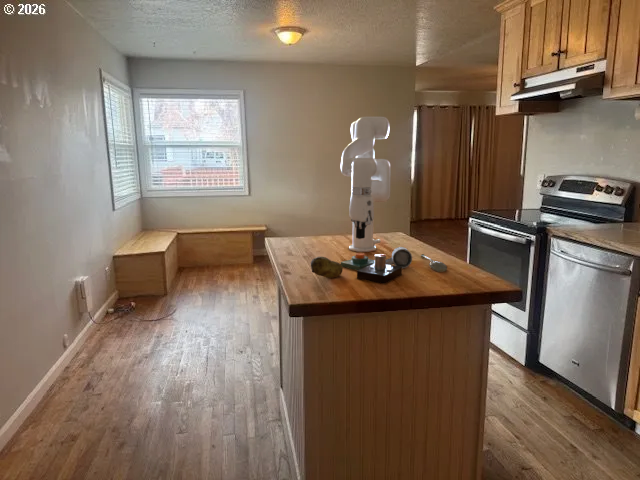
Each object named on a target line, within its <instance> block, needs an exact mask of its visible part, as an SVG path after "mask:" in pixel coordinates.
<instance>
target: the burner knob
mask: <svg viewBox="0 0 640 480" xmlns="http://www.w3.org/2000/svg"><path fill="white" fill-rule="evenodd" d="M374 260H375V264H374V269H376V270H385V269H386V260H387V255H386V254H383V253H377V254H374Z"/></svg>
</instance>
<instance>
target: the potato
mask: <svg viewBox="0 0 640 480" xmlns="http://www.w3.org/2000/svg"><path fill="white" fill-rule="evenodd" d="M310 268H311V273H313V274H315V275H316V276H318V277H319V276H320V277H324V278H327V279H334V278H337V277H339V276H340V275H342V273H343V270H344V267H342V265H341V262H340V263H339V262H337V261H334V260H331V259H329V258H328V257H325V256H316V257H314V258H312V259H311V262H310Z"/></svg>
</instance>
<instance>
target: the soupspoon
mask: <svg viewBox="0 0 640 480" xmlns="http://www.w3.org/2000/svg"><path fill="white" fill-rule="evenodd" d="M420 258H422V259H424V258H425V259H427V260H429V261H430V263H428V266H429V267H430V269H432V270H433V271H436V272H438V273H439V272H440V273H441V272H442V273H443V272H446V271H447V270H448V266H447V264H445V263H443V261H437V260H435V261H434V260H433V259H432V258H431V257H429V256H426V255H425V253H422V254H420Z"/></svg>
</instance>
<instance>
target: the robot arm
mask: <svg viewBox="0 0 640 480" xmlns="http://www.w3.org/2000/svg"><path fill="white" fill-rule="evenodd" d="M389 134H390V122H389V119H388V118H387V117H385V116H361V117H359V118H358V119H357V120H355V121H353V122H352V123H351V125H350V135H351V142H350V143H349V144H348V145H347V146H346V147H345V148H344V149H343V151H342V154H341V160H340V172H341V174H342V175H343V176H344V177H346V178H347V177H348V178H351V187H350V188H351V189H350V192H351V194H350V201H349V208H348V209H349V213H348V214H349V218H350V221H351V223H352V233H351V234H352V243H351V244H350V245H349V246H348V249H349V250H350V251H352V252H357V253H368V252H369V253H370V252H375V251H377V246H376V244H377V245H378V244H381V242H382V241H381V239H380V238H378V239H375V238H374V219H375V209H374V207H375V206H374V203H386V202H388V201H389V200H390V198H391V163H390V161H389V160H388V159H385V158H375V149H374V146H375V140H385V139H387V138H388V136H389Z"/></svg>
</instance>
